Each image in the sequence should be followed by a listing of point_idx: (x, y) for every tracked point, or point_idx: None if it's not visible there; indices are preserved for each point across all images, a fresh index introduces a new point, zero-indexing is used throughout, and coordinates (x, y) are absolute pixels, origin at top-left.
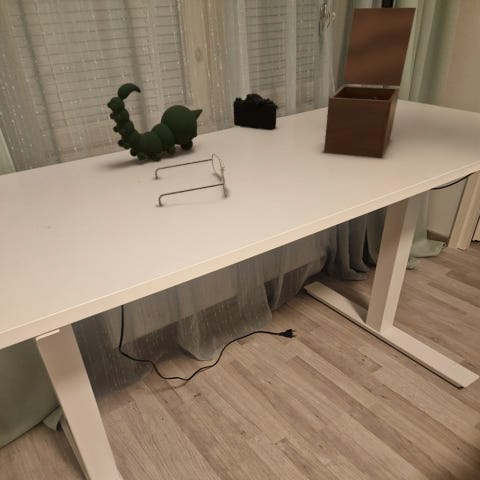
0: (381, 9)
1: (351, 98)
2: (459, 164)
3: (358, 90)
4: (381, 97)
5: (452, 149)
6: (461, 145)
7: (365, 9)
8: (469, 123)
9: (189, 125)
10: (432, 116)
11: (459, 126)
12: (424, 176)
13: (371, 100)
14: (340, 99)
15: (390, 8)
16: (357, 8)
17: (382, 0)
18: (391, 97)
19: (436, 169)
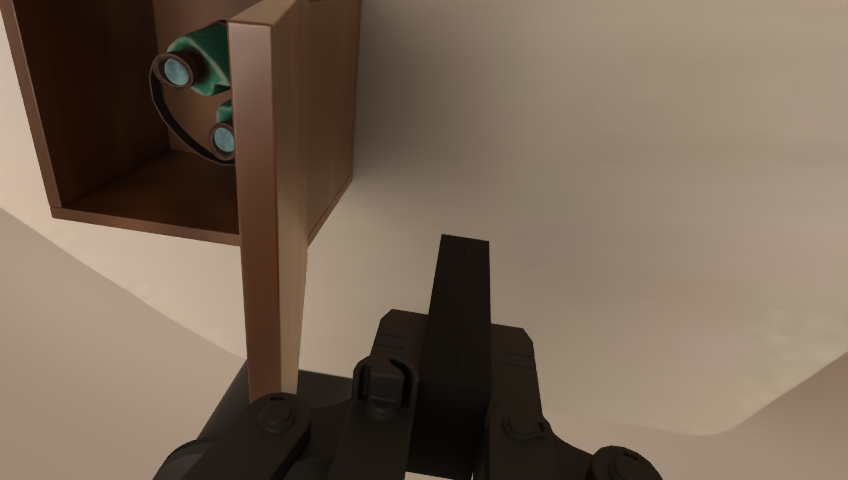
0: (245, 318)
1: None
2: (199, 327)
3: None
4: None
5: (312, 330)
6: (354, 354)
7: (235, 167)
8: (587, 407)
9: None
10: (684, 327)
11: (550, 379)
12: (83, 249)
13: (34, 145)
14: (2, 6)
15: (250, 389)
16: (231, 68)
17: (419, 372)
18: (116, 219)
19: (142, 278)
